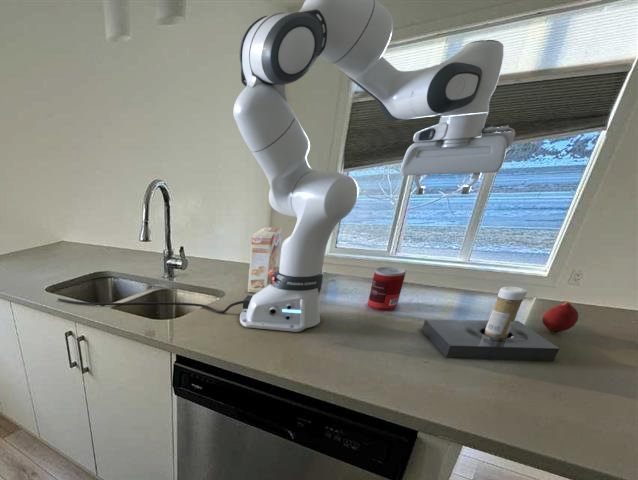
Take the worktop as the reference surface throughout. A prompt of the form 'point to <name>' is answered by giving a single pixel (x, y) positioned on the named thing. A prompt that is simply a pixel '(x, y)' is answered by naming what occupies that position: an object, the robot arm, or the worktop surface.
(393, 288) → the canned food
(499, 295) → the sprinkles bottle
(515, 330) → the dark grey slab holder
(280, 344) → the worktop surface
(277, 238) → the coffeecake box
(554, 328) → the onion
